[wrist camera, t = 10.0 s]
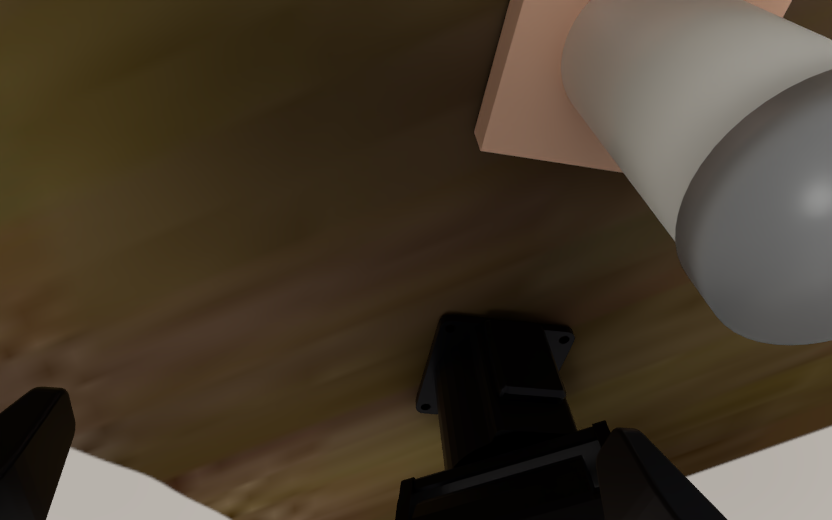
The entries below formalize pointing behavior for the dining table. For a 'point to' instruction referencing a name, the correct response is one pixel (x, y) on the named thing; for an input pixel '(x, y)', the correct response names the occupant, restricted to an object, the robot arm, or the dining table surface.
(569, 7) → the tile
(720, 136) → the plug
